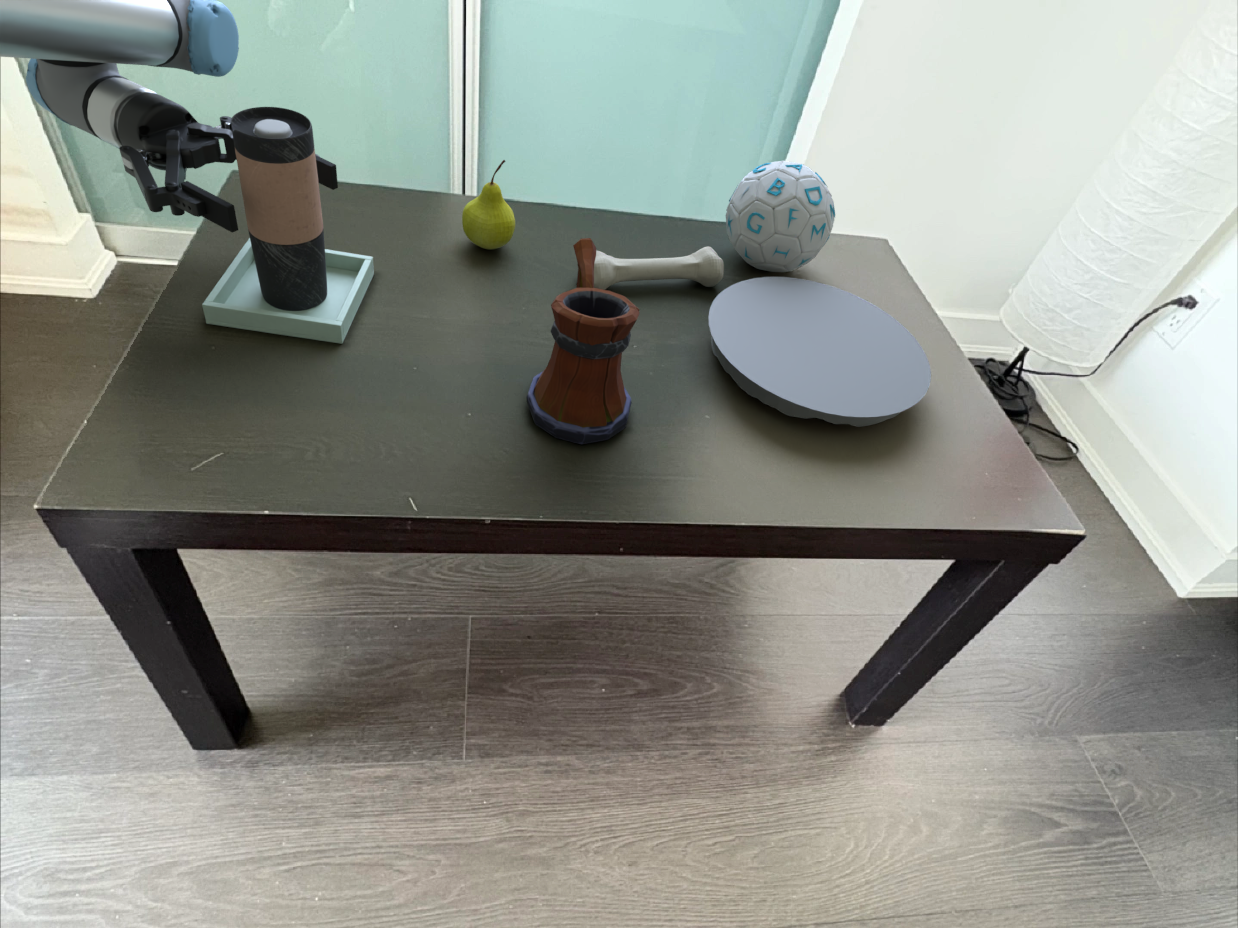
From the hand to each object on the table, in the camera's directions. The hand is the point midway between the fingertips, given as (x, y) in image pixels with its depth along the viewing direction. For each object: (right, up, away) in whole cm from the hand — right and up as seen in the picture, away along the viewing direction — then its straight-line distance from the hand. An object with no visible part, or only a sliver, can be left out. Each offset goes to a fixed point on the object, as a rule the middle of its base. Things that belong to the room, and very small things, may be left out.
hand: (286, 197), depth 83 cm
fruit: (+17, +1, +24) cm, 30 cm away
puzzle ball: (+56, +2, +34) cm, 66 cm away
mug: (+30, -20, +6) cm, 37 cm away
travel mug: (-3, -8, +9) cm, 13 cm away
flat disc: (+59, -16, +17) cm, 63 cm away
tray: (-3, -9, +9) cm, 13 cm away
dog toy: (+39, -4, +25) cm, 46 cm away
